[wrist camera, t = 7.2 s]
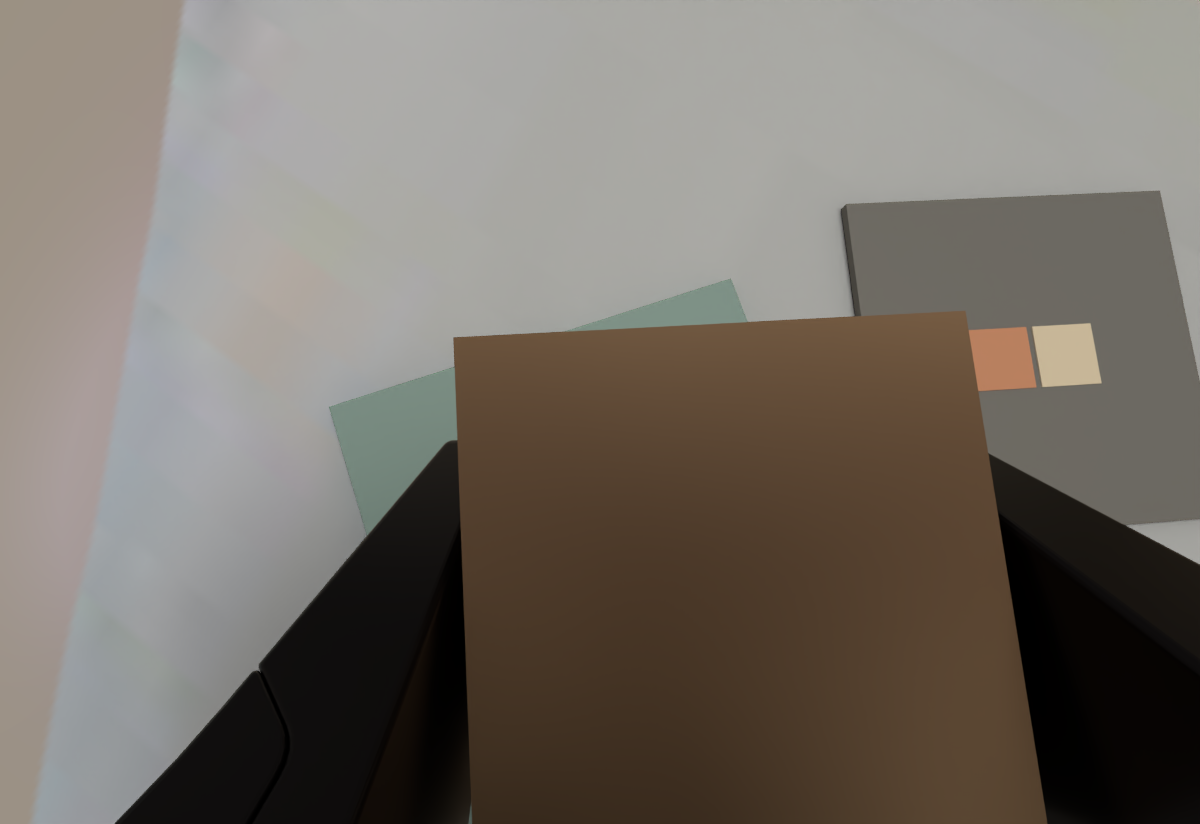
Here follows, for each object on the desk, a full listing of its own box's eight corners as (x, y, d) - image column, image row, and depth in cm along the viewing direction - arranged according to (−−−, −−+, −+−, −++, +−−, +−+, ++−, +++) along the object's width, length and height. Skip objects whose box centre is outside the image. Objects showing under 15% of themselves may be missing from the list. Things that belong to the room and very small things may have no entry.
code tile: (1216, 516, 22) (1229, 516, 22) (885, 542, 22) (892, 543, 21) (1150, 196, 24) (1161, 189, 24) (841, 209, 23) (846, 203, 23)
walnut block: (748, 654, 14) (1053, 861, 5) (529, 672, 14) (476, 925, 5) (726, 437, 15) (965, 310, 6) (516, 451, 15) (454, 337, 6)
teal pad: (878, 677, 21) (886, 680, 20) (462, 842, 20) (460, 850, 19) (727, 283, 23) (730, 278, 22) (334, 409, 21) (328, 406, 21)
